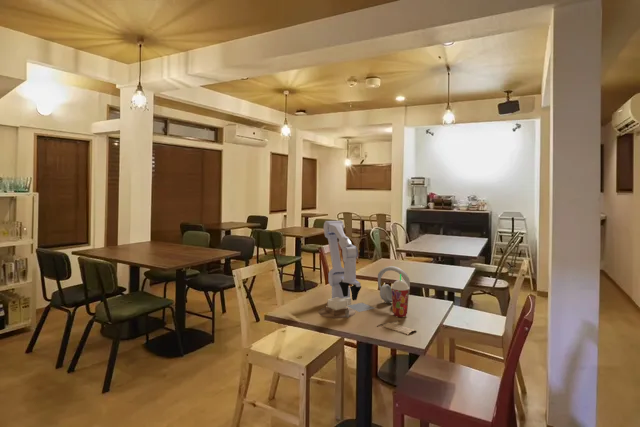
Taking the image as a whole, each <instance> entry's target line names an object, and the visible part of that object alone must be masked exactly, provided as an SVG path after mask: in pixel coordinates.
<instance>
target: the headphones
mask: <svg viewBox="0 0 640 427" xmlns="http://www.w3.org/2000/svg"><path fill="white" fill-rule="evenodd" d="M388 271H394V272H396V273H398V274H399V275H400V274H401V278H403V279H402V280H403V281H405V282H406V283H407V284H408V287H409V290H410V287H411V284H410V280H411V279H410V277H409V275H408V273H406V271H405V270H403V269H402V268H400V267H398V266H393V265H390V266H386V267H383V268H382V269H381V270H380V271H379V272H378V274H377V286H378V287H379V288H378V289H379V296H380V299H381V300H383V302H385V303H386V304H390V303H392V288H391V287H392V286H390V285H389V284H387V283H385V284H382V286H381V281H382V280H381V279H382V276H383V275H384V274H385V273H386V272H388Z"/></svg>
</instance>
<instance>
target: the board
mask: <svg viewBox="0 0 640 427" xmlns="http://www.w3.org/2000/svg"><path fill="white" fill-rule="evenodd" d="M346 307H348V308H351V309H353V310H355V312H359V313H362V312H365V311H370V310H374V309H376V307H373V306H371V305H369V304H366V303H364V302H360V303H359V302H358V303H353V304H351V305H347V306H346Z"/></svg>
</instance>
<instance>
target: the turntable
mask: <svg viewBox="0 0 640 427" xmlns="http://www.w3.org/2000/svg"><path fill="white" fill-rule="evenodd" d="M356 312H357V311H356V310H354V309H352V308H349V307H347V306H346V308H344V309H340V310H333V309H331V308H329V307H328V305H325V306H324V307H322V308H321V309H318V314H319V315H320V317H321V316H322V317H323V318H327V319H328V318H329V319H335V320H336V319H337V320H338V319H348V318H351V317H353V316H355V315H356Z"/></svg>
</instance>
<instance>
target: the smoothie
mask: <svg viewBox="0 0 640 427" xmlns="http://www.w3.org/2000/svg"><path fill="white" fill-rule="evenodd" d="M390 287H391V288H392V302H391V304H392V306H391V307H392V314H393V315H394V317H396V316H397V318H404V316H405V317H406V316H407V314H408V307H409V296H410V289H409V287H408V284H407V283H406V282H405V280H404V279H402V276H401V274H399V279H396V280H394V282H393V284H392V286H390Z"/></svg>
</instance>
